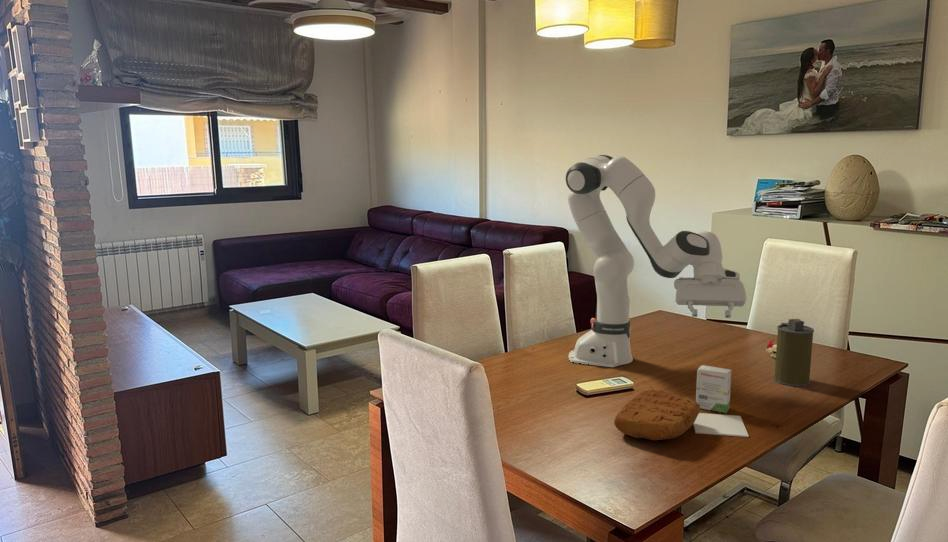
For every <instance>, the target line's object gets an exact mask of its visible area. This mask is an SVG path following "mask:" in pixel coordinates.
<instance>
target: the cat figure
mask: <svg viewBox="0 0 948 542" xmlns="http://www.w3.org/2000/svg"><path fill="white" fill-rule="evenodd" d="M775 340H777V337H776V338H774V339H771V340H770V341H769V342H768V344H767V346H766V349H765V352H766V353H768V354H770V353H771V354H770V357H772V358H775V359H776V349H777V344H774V343H773V342H775Z"/></svg>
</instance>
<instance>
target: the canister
mask: <svg viewBox="0 0 948 542" xmlns="http://www.w3.org/2000/svg"><path fill="white" fill-rule="evenodd" d="M804 324H805V321H803V320H801V319H800V318H789V319H788V322H781V323H780V324H779V325H777V327H776V328H777V334H776V336H777V337H776V338H777V339H776V345H777V349H776V358H775V363H774V364H775V366H774V376H773V380H774V381H775V382H776V383H778V384H780V383H781V385H785V386H787V387H789V386H790V387H801V386H802V387H807V386H809V385H810V384H811V382H810V378H811V377H810V376H811V364H812V352H813V351H812V350H813V339H814V338H813V337H814V332H815V329H814V328H813V327H810V326H809V325H804Z"/></svg>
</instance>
